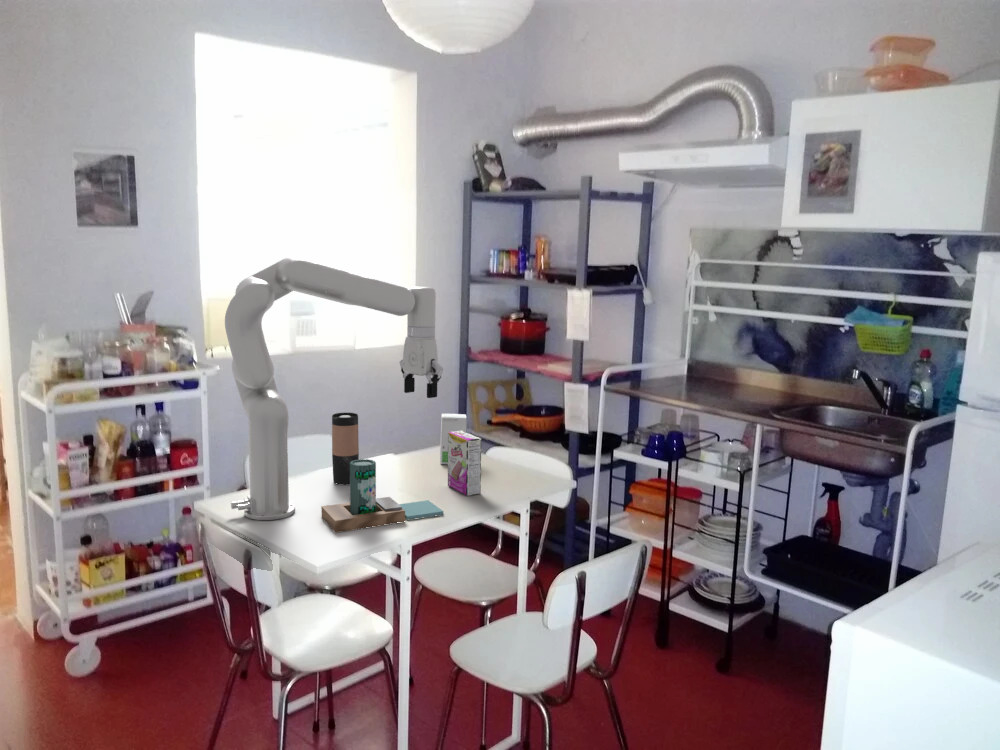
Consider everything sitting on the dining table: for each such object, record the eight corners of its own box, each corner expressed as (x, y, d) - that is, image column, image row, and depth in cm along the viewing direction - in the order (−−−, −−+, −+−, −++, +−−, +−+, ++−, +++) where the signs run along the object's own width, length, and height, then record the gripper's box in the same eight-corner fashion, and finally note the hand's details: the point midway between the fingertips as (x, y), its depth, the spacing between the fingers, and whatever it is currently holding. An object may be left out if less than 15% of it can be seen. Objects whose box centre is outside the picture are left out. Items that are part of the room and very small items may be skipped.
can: (366, 525, 195) (365, 467, 193) (346, 521, 198) (345, 463, 195) (379, 518, 201) (379, 461, 198) (360, 514, 203) (359, 458, 201)
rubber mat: (407, 520, 200) (407, 516, 199) (393, 508, 208) (393, 505, 208) (443, 514, 204) (443, 511, 204) (428, 503, 213) (428, 500, 213)
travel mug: (361, 478, 235) (360, 412, 232) (356, 485, 228) (355, 418, 225) (335, 477, 235) (335, 412, 232) (329, 484, 228) (328, 417, 225)
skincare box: (440, 464, 252) (440, 417, 250) (439, 459, 258) (440, 413, 256) (466, 464, 253) (466, 417, 250) (465, 459, 259) (466, 413, 257)
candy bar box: (446, 486, 229) (447, 431, 226) (461, 484, 232) (462, 429, 229) (466, 497, 220) (467, 439, 217) (481, 494, 222) (482, 437, 220)
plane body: (335, 532, 190) (335, 518, 189) (321, 517, 200) (321, 503, 200) (405, 522, 198) (405, 508, 198) (388, 508, 209) (388, 495, 208)
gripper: (390, 330, 216) (390, 391, 219) (431, 336, 204) (430, 401, 206) (412, 329, 221) (411, 389, 224) (452, 334, 209) (451, 398, 212)
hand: (420, 394), depth 215 cm, fingers open, 9 cm apart
